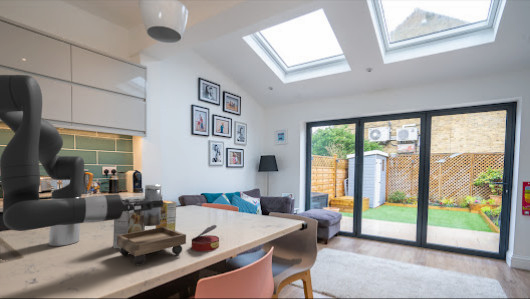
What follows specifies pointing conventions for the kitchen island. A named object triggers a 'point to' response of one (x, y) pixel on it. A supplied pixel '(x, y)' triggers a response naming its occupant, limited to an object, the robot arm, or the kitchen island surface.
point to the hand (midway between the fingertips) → (158, 202)
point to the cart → (150, 242)
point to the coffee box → (128, 225)
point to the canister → (152, 215)
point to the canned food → (205, 241)
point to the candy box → (168, 215)
